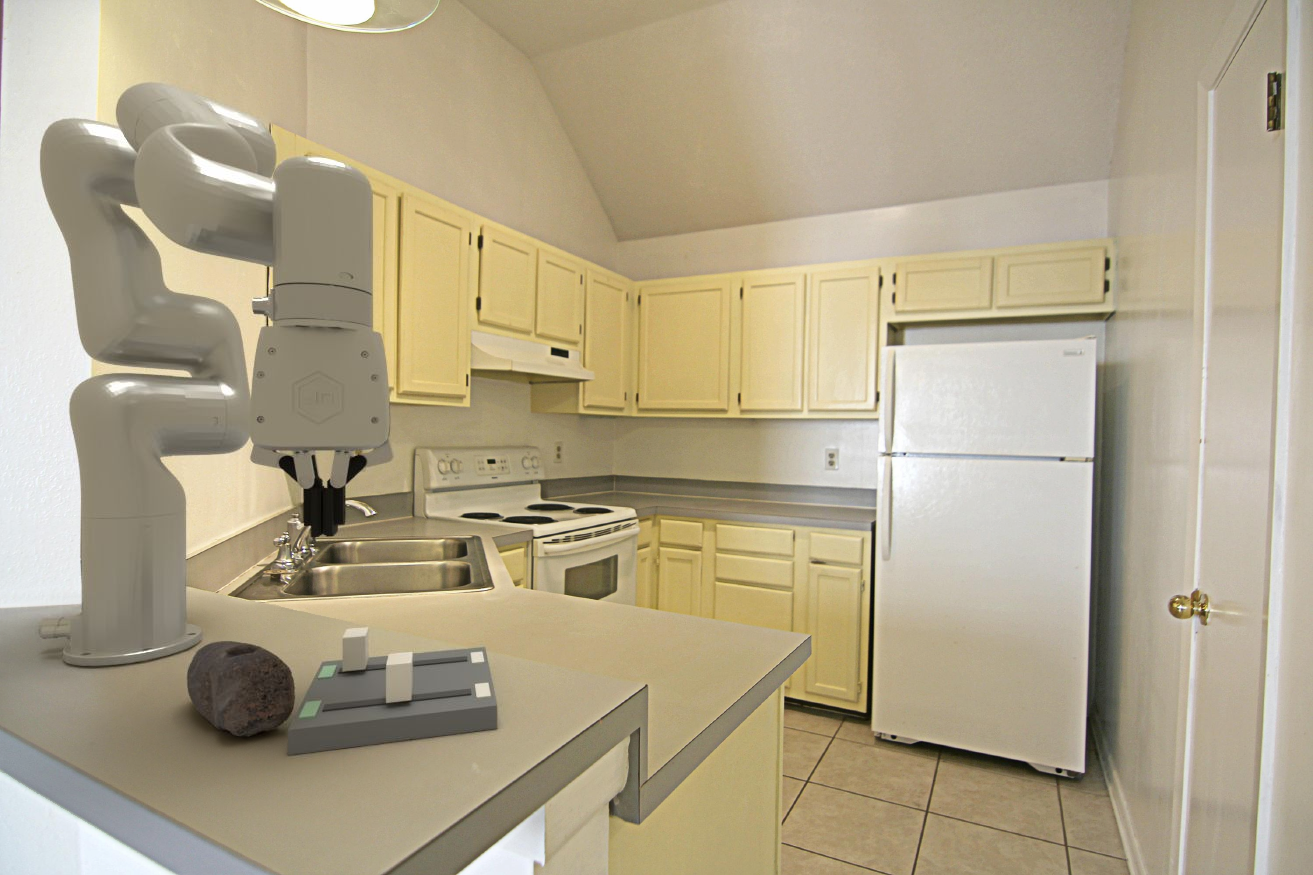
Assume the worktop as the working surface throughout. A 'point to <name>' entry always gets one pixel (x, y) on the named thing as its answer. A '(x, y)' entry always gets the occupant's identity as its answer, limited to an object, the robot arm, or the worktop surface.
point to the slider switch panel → (358, 714)
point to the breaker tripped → (399, 677)
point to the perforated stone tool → (241, 687)
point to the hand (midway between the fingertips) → (324, 534)
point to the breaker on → (355, 649)
